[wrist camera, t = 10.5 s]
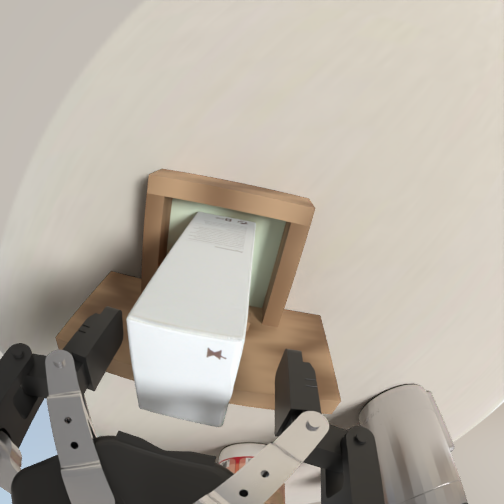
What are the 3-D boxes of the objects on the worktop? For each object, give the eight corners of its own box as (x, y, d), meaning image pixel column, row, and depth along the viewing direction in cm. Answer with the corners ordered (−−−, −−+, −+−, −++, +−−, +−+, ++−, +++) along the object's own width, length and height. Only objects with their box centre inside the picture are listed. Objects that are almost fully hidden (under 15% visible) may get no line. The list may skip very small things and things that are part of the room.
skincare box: (196, 209, 20) (123, 312, 9) (257, 220, 20) (249, 340, 9) (187, 284, 22) (136, 410, 11) (241, 294, 22) (225, 430, 11)
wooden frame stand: (358, 211, 20) (415, 270, 11) (314, 328, 24) (331, 414, 16) (115, 162, 19) (34, 191, 10) (112, 285, 23) (60, 353, 15)
